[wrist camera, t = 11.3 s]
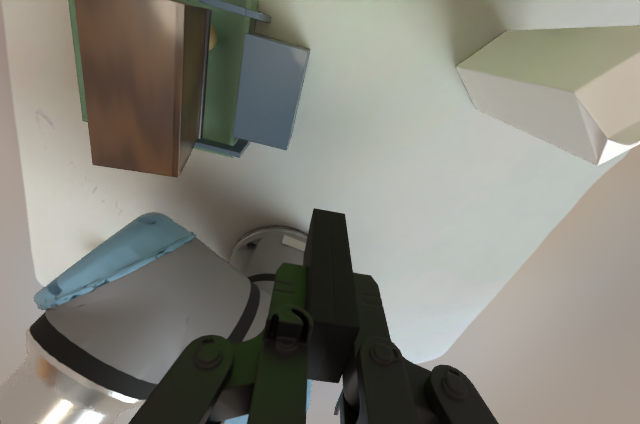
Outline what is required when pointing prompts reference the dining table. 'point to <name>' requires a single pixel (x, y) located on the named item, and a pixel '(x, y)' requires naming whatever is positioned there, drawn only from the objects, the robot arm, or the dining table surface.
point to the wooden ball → (212, 37)
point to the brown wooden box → (144, 81)
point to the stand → (263, 89)
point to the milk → (563, 86)
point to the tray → (219, 74)
